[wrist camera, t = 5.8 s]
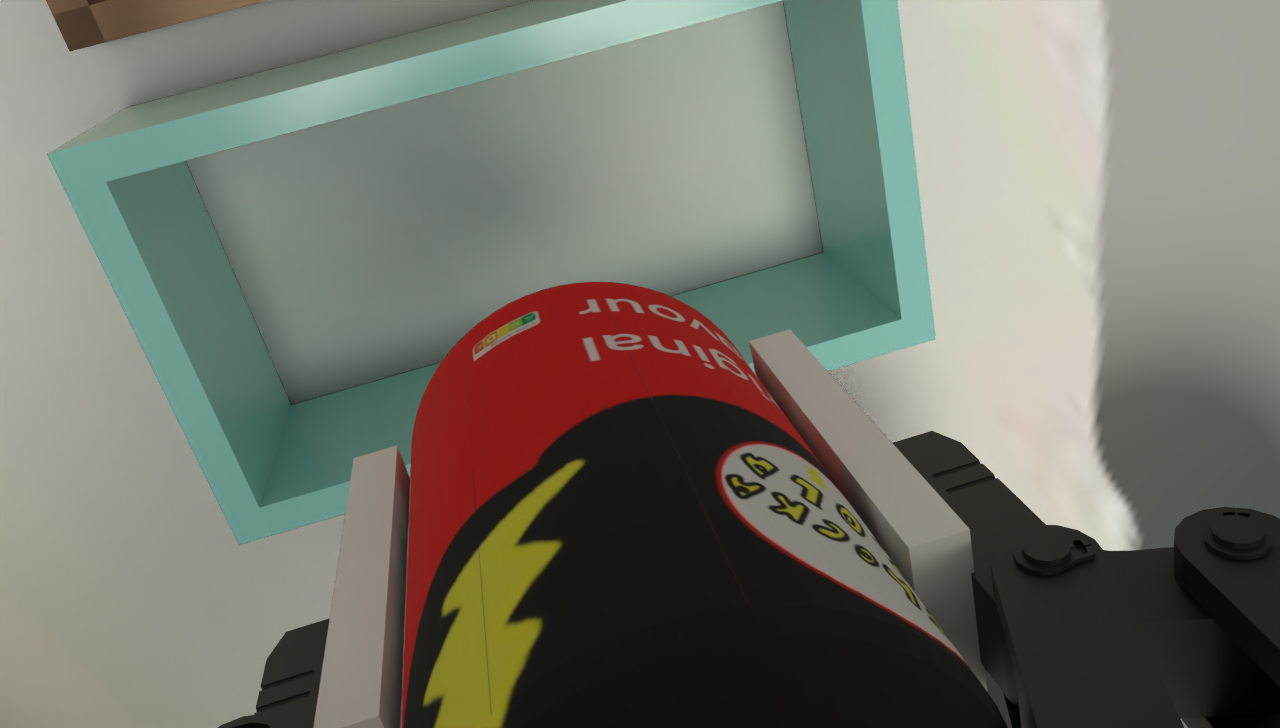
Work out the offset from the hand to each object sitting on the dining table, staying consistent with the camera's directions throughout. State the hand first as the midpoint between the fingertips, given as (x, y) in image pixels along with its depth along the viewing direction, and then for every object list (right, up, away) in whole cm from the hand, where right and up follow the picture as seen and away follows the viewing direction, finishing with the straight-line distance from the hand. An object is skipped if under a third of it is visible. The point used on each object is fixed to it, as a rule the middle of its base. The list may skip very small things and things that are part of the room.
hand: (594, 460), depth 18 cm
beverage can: (0, +1, +2) cm, 2 cm away
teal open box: (-3, +7, +17) cm, 19 cm away
